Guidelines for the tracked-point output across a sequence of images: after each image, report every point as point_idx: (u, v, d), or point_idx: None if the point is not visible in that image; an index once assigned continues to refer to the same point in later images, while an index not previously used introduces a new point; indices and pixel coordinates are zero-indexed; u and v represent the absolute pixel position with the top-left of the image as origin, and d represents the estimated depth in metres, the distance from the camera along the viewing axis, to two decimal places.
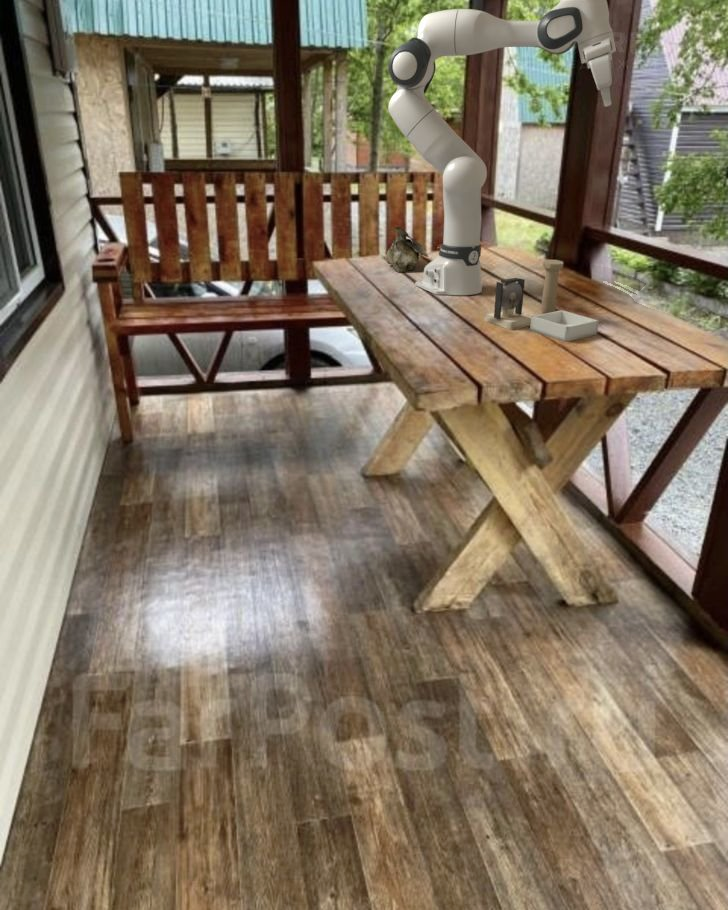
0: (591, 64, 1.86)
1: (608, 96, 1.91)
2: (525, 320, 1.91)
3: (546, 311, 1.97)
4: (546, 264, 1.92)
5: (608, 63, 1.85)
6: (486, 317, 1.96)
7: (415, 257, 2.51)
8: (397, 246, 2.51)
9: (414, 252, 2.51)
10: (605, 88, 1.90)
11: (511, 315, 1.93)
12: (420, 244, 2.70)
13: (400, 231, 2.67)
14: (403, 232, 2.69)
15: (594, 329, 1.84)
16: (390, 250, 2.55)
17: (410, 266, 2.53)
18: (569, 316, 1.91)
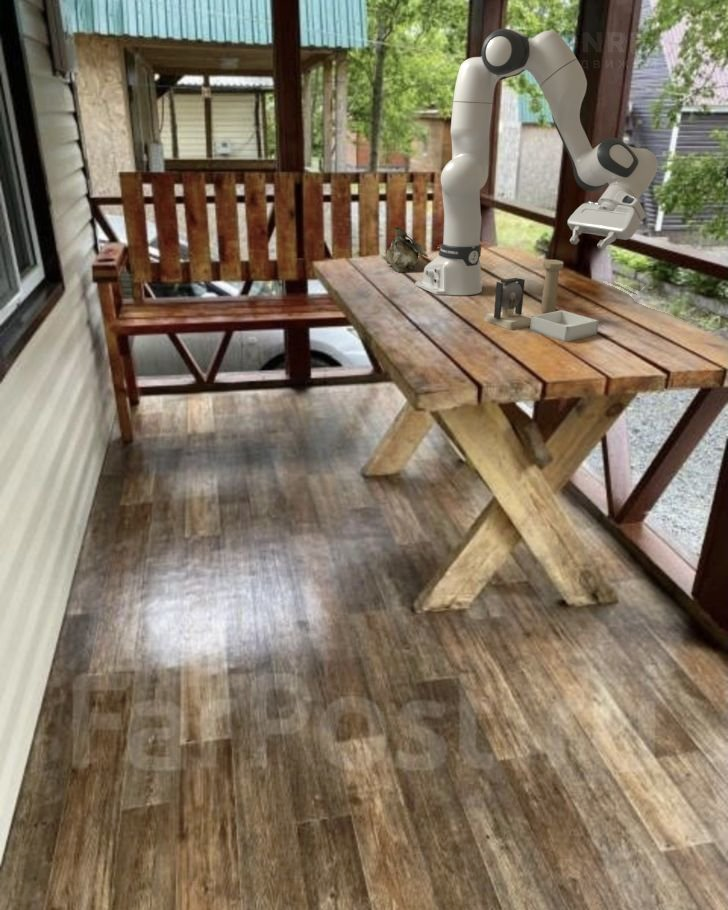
0: (634, 212, 1.90)
1: (608, 243, 1.94)
2: (525, 320, 1.91)
3: (546, 311, 1.97)
4: (546, 264, 1.92)
5: (638, 226, 1.93)
6: (486, 317, 1.96)
7: (415, 257, 2.51)
8: (397, 246, 2.51)
9: (414, 252, 2.51)
10: (615, 236, 1.93)
11: (511, 315, 1.93)
12: (419, 244, 2.70)
13: (399, 231, 2.67)
14: (402, 232, 2.69)
15: (594, 329, 1.84)
16: (390, 250, 2.55)
17: (410, 266, 2.53)
18: (569, 316, 1.91)
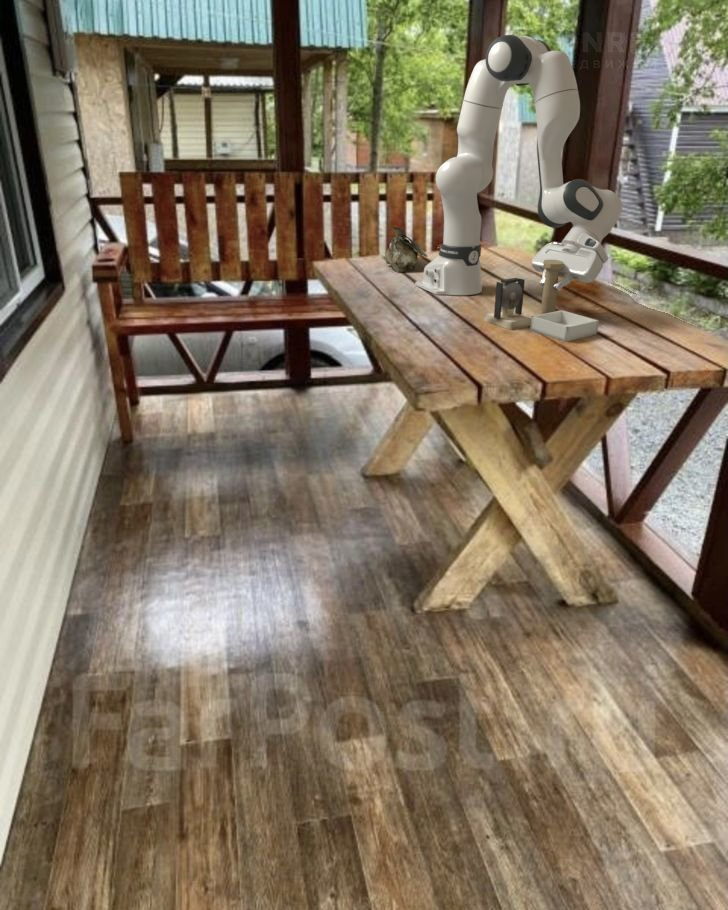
0: (596, 255, 1.88)
1: (564, 284, 1.94)
2: (525, 320, 1.91)
3: (546, 311, 1.97)
4: (546, 264, 1.92)
5: (601, 269, 1.90)
6: (486, 317, 1.96)
7: (415, 257, 2.51)
8: (396, 246, 2.51)
9: (414, 252, 2.51)
10: (570, 277, 1.93)
11: (511, 315, 1.93)
12: (418, 244, 2.70)
13: (398, 231, 2.66)
14: (401, 232, 2.69)
15: (594, 329, 1.84)
16: (389, 250, 2.55)
17: (410, 266, 2.53)
18: (569, 316, 1.91)
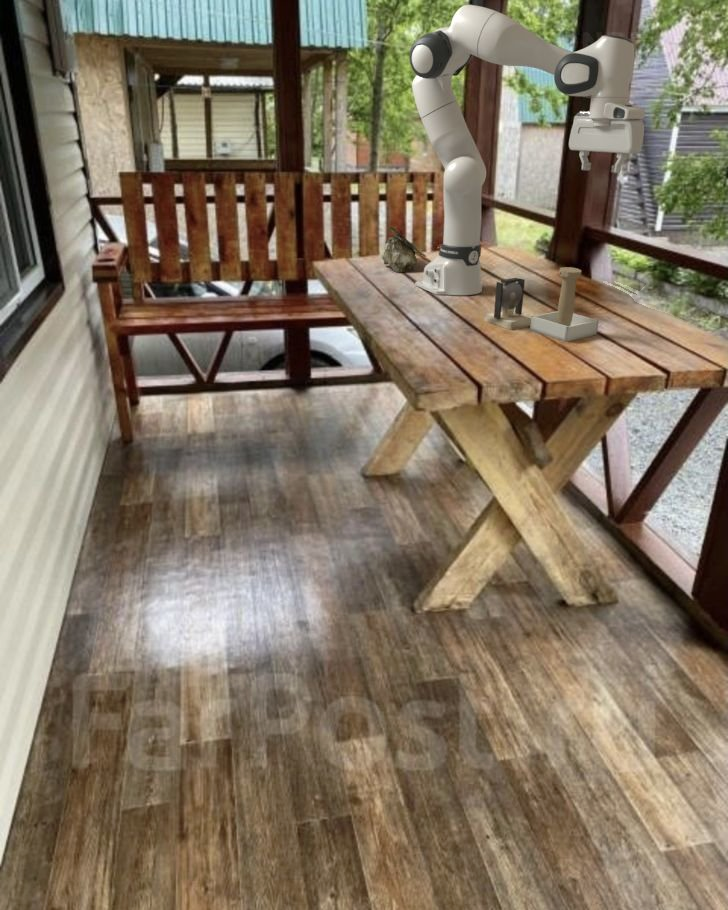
0: (632, 125, 1.73)
1: (621, 163, 1.80)
2: (525, 320, 1.91)
3: (563, 322, 1.85)
4: (563, 272, 1.80)
5: (643, 130, 1.75)
6: (486, 317, 1.96)
7: (414, 257, 2.51)
8: (396, 246, 2.51)
9: (413, 252, 2.51)
10: (624, 154, 1.79)
11: (511, 315, 1.93)
12: (413, 244, 2.70)
13: (394, 231, 2.66)
14: (396, 232, 2.69)
15: (594, 329, 1.84)
16: (388, 250, 2.54)
17: (409, 266, 2.53)
18: None
